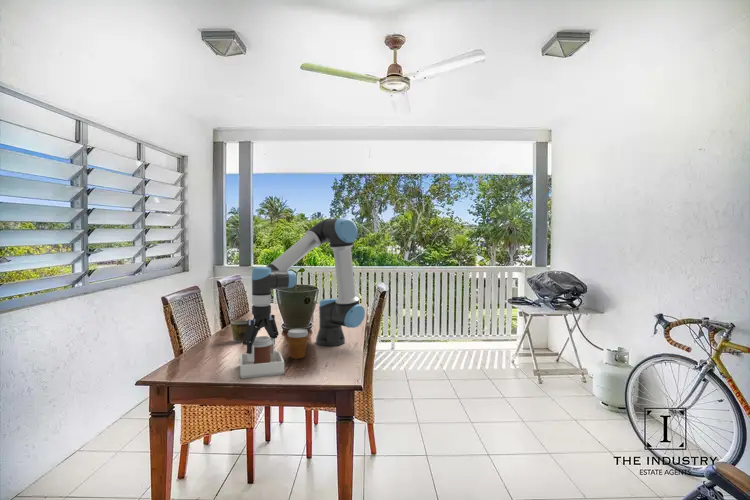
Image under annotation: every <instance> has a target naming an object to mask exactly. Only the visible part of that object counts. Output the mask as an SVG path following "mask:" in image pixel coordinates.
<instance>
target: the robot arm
mask: <svg viewBox="0 0 750 500" xmlns="http://www.w3.org/2000/svg"><path fill="white" fill-rule="evenodd" d="M357 227H358V226H357V225H356V223H355V222H354V221H353V220H352V219H350V218H346V217H345V218H344V217H340V218H325V219H322V220H320V221H319V222H318V223H316V224H314V225H313V226H311V228H309V229H308V230H307V231H306V232H305V235H304V236H303V237H301V238H300V239H299V240H297V241H296V242H295V243H294V244H293V245H291V246H290V247H289V248H288V249H286V250H285V251H284V252H283V253H282V254H281V255H279V256H278V257H277V258H276V259H274V260H273V261H272V262H270V263H269V264H268V265H267V266H256V267H253V268H252V272H251V273H252V274H251V304H252V305H251V314H252V315H253V317H252V319H247V320H248V321H247V328H246V332H245V336H244V340H243V342H242V345H244V346H246V352H247V354H248V361H250V362H254V345H253V343H254V340H255V338H256V337H258V336H257V335H258V333H259V331H260V330H261V329H262V328H264V329H265V331H266V333H267V336H268V337H270V340H272V341H273V344H272V345H271V354H274V351H275V345H276V339H277V338H278V336H279V334H280V333H279V330H278V327H277V322H276V316H275V314H272V305H271V304H272V290H281V289H291V288H294V287H295V286H296V284H297V280H298V279H297V278H298V277H297V274H296V272H295V271H293V270H290V269H291V268H292V267H293V266H295V265H296V264H297V263H298V262H299V261H300V260H301V259H303V258H304V257H305V256H307V254H309V253H310V252H311V251H312V250H314V248H319V247H320V246H322V245H324V244H325V243H329V248H331V250H333V257H334V268H335V269H334V270H335V279H336V289H337V297H335V298H325V299H324V298H323V299H321V300H320V301H319V307H318V310H319V312H318V313H319V314H318V317H319V321H318V323H319V324H318V325H319V326H318V327H319V328H318V331H317V334H316V337H315V344H316V345H318V346H323V347H337V346H342V345H344V344H345V343H346V337H345V334H344V331H343V327H345V328H352V329H355V328H357V327H359V326H360V325H361V324H362V322H363V321H364V319H365V315H366V311H365V308H364V306H363V305H362V304H360V299H359V297H358V296H356V287H355V278H354V277H355V276H354V275H355V274H354V266H353V265H354V264H353V255H352V248H353V246H354V245H355V244H354V242H355V241H356V239H357V237H358V228H357Z"/></svg>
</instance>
